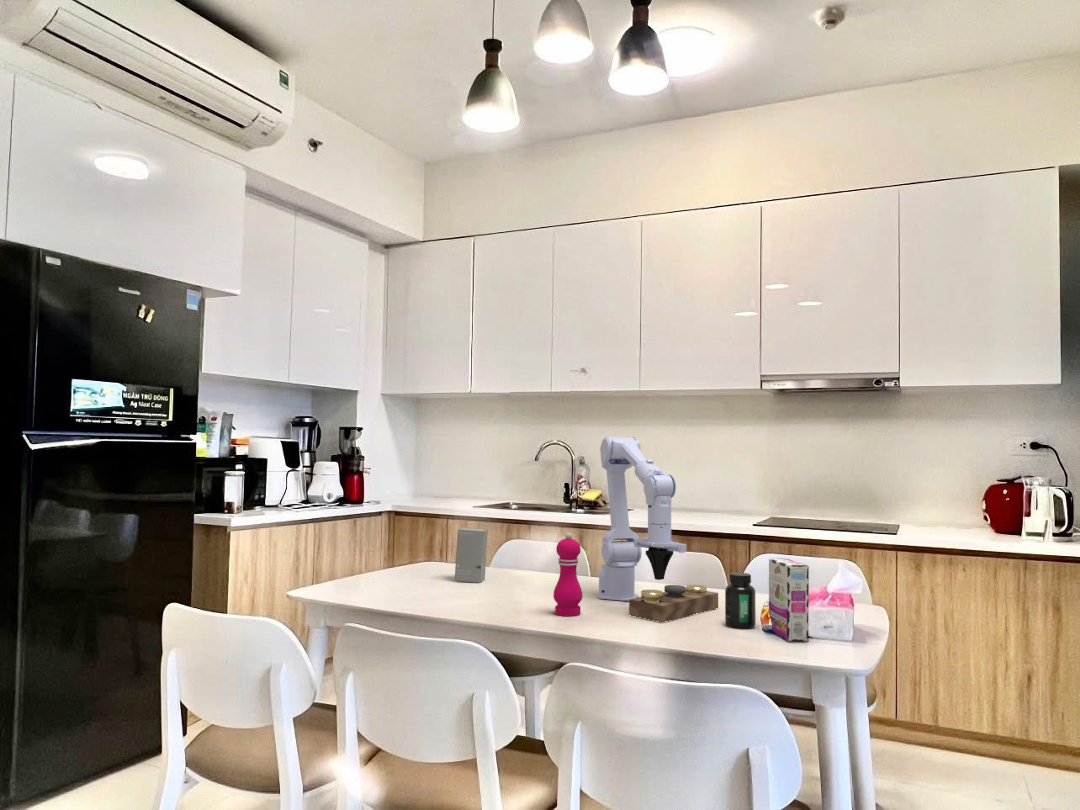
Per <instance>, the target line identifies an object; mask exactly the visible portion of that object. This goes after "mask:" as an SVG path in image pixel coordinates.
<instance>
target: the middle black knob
mask: <svg viewBox="0 0 1080 810" xmlns="http://www.w3.org/2000/svg"><path fill="white" fill-rule="evenodd" d="M685 587H686V586H684V585H679V584H666V585H664V587H663V588H664V589H663V590H664V591H663V592H667V593H668V597H672V598H681V597H682V593H685Z"/></svg>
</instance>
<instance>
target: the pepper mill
mask: <svg viewBox="0 0 1080 810" xmlns="http://www.w3.org/2000/svg"><path fill="white" fill-rule="evenodd" d="M564 537H565V538H562V539H561V540H560V541H558V543H557V544H556V553H557V555H558V557H559V558H558V565H559V578H558V579H557V580H558V581H557V582H556V584H555V586H554V590H553V600H554V601H555V602H556V605H555V606H554V611H555V612H554V614H555V615H557V616H560V615H561V617H576V615H577V616H579V614H581V606H580V605H579V604H580V603H581V602H582V600H583V597H584V596H583V590H582V587H581V585H580V583H579V579H578V575H577V566H578V565H579V558H578V556H579V555H580V554H581V544H580V543H579V542H578V540H575V539H574V538H573V535H572V532H566V533H565V534H564Z"/></svg>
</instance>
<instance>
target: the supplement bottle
mask: <svg viewBox="0 0 1080 810" xmlns="http://www.w3.org/2000/svg"><path fill="white" fill-rule="evenodd" d="M728 580H729V582H730V583H729V584H728V585H726V587H725V589H724V591H725V592H724V593H725V594H724V599H725V600H724V605H725V607H724V610H725V611H724V616H725V617H724V620H725V622H724V623H725V625H726V626H727V627H728V628H732V629H737V630H750V629H754V628H755V627H756V617H757V616H756V589H755V587H754V586H753V585H751V583H752V575H751V574H750V573H748V572H747V573H746V572H730V573H729V579H728Z"/></svg>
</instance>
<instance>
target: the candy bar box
mask: <svg viewBox="0 0 1080 810" xmlns="http://www.w3.org/2000/svg"><path fill="white" fill-rule="evenodd" d="M768 568H769V569H768V616H769V615H770V618H771V622H772V631H771V632H772V633H774V634H775V635H776V636H778V637H779V638H782V639H783V640H785V641H786V642H789V643H790V642H791V643H794V642H795V643H797V642H799V643H800V642H801V643H802V642H803V643H804V642H809V641H810V639H809V634H810V633H809V631H810V630H809V620H810V619H809V614H810V613H809V612H810V611H809V605H810V604H809V592H810V590H809V589H810V588H809V587H810V585H809V583H810V579H809V578H810V577H809V574H810V573H809V572H810V567H809V565H807V564H804V563H801V562H798V561H796V560H793V559H790V558H769V559H768Z"/></svg>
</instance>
